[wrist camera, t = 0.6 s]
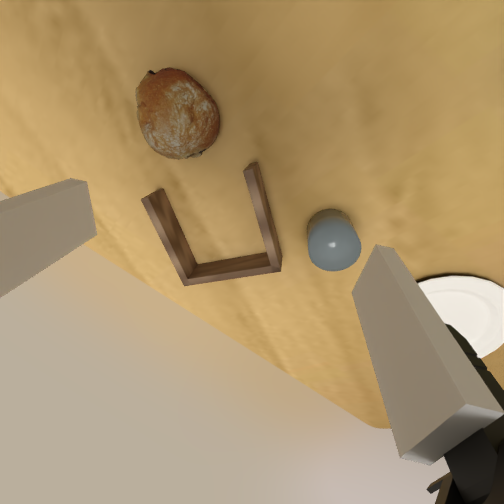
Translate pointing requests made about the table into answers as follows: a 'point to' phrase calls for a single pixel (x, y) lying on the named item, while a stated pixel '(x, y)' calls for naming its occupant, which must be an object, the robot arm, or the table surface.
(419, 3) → the table surface
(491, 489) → the robot arm
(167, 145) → the bread roll
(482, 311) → the plate
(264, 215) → the corral
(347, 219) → the grey-blue cylinder
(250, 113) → the table surface
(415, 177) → the table surface
